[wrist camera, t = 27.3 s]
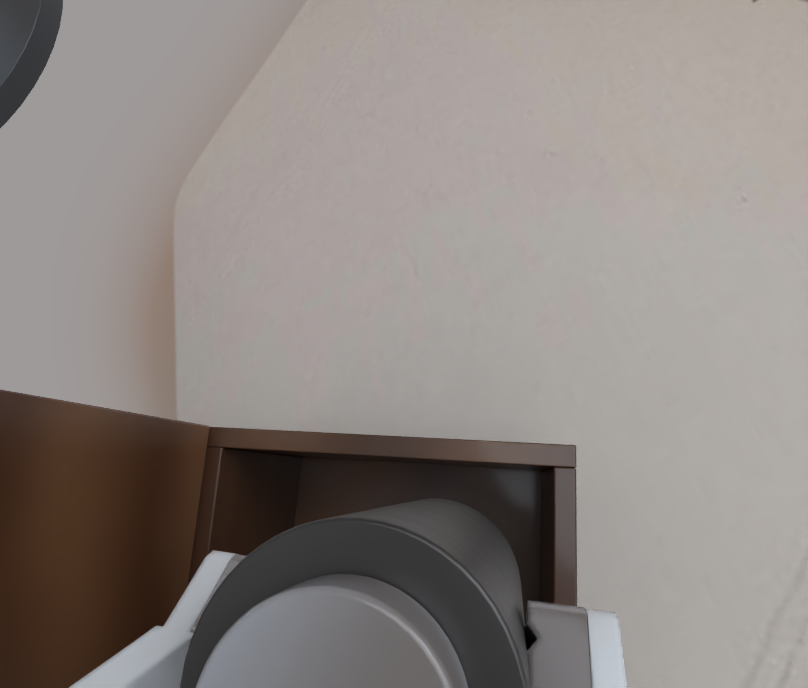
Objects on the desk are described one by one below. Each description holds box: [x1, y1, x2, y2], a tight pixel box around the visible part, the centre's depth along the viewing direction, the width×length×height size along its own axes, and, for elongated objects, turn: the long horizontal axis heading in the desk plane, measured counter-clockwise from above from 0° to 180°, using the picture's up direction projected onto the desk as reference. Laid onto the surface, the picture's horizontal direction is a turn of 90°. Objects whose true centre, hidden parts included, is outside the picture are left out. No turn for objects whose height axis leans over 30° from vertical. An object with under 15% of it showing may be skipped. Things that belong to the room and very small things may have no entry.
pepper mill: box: [180, 498, 530, 688], centre depth 11 cm, size 5×5×10 cm
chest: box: [187, 427, 577, 626], centre depth 25 cm, size 15×13×10 cm
